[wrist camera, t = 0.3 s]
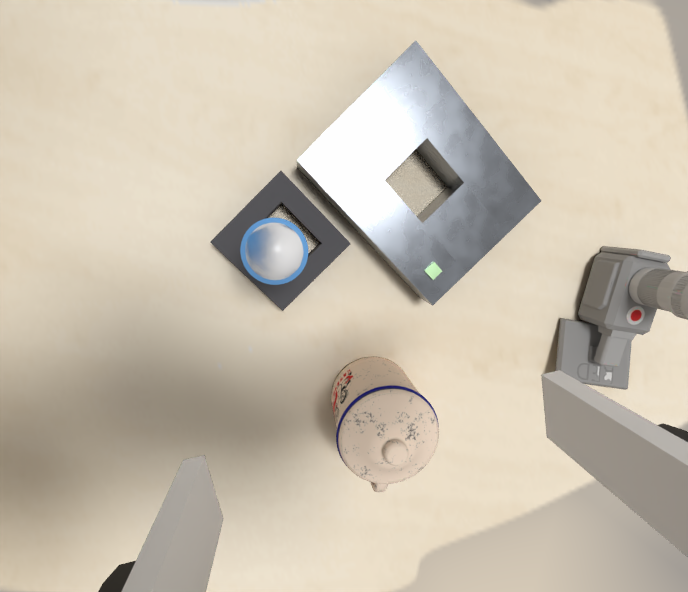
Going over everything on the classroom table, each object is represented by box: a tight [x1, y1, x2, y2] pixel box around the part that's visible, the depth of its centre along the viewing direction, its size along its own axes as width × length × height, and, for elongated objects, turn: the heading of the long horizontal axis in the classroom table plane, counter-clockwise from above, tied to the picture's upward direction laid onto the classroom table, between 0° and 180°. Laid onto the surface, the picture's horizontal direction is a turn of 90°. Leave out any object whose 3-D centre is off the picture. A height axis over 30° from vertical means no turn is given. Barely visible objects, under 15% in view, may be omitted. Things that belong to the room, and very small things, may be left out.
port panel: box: [297, 41, 541, 305], centre depth 36 cm, size 18×14×4 cm
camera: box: [555, 246, 688, 390], centre depth 38 cm, size 9×12×15 cm
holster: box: [211, 171, 350, 311], centre depth 37 cm, size 9×9×2 cm
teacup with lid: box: [331, 357, 439, 492], centre depth 37 cm, size 12×9×12 cm
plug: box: [240, 218, 308, 285], centre depth 31 cm, size 4×4×14 cm
